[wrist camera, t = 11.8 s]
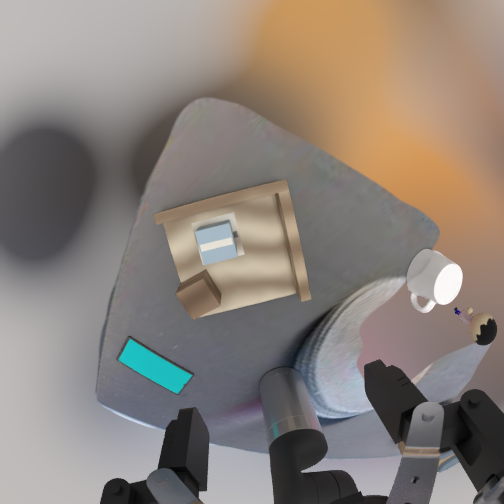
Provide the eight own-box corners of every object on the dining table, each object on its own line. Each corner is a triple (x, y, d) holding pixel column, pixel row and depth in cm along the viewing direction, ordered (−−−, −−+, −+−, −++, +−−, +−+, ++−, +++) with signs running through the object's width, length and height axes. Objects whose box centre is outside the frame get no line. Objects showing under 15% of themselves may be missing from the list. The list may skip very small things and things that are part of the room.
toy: (464, 315, 54) (502, 339, 40) (447, 330, 55) (484, 358, 40) (460, 289, 52) (502, 312, 38) (443, 305, 53) (484, 332, 38)
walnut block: (221, 293, 47) (220, 305, 42) (196, 307, 47) (192, 320, 42) (206, 269, 46) (203, 278, 41) (180, 283, 46) (175, 293, 41)
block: (229, 219, 44) (229, 223, 39) (237, 249, 45) (237, 257, 40) (198, 227, 44) (194, 231, 39) (206, 257, 45) (203, 265, 40)
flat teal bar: (128, 336, 48) (194, 375, 51) (129, 334, 49) (194, 372, 52) (115, 359, 49) (177, 395, 52) (117, 357, 50) (178, 393, 53)
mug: (449, 252, 40) (469, 269, 41) (419, 241, 49) (441, 257, 50) (418, 313, 42) (441, 325, 43) (393, 294, 51) (416, 307, 52)
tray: (303, 288, 49) (311, 299, 44) (194, 315, 49) (190, 329, 44) (280, 180, 45) (286, 179, 39) (161, 211, 44) (153, 214, 39)
